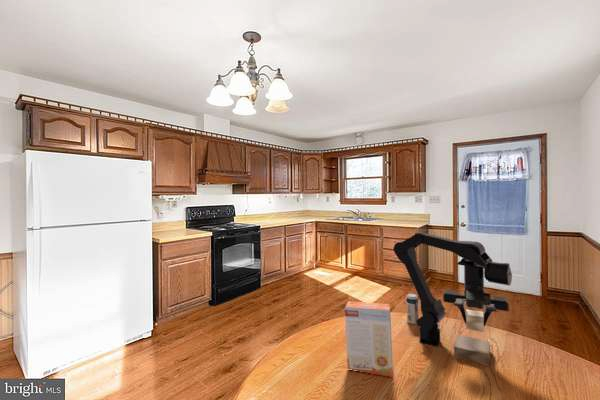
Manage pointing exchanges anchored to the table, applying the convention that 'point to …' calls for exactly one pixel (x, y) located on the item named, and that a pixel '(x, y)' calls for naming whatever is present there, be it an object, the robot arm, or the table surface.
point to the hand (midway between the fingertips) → (474, 324)
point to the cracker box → (369, 338)
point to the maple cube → (474, 320)
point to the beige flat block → (472, 349)
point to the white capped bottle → (412, 308)
